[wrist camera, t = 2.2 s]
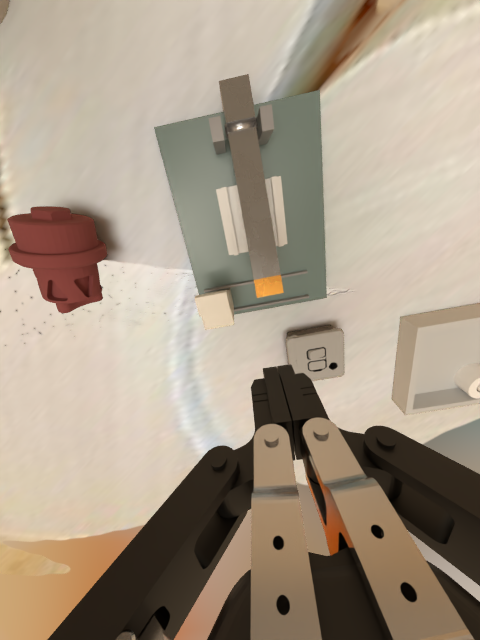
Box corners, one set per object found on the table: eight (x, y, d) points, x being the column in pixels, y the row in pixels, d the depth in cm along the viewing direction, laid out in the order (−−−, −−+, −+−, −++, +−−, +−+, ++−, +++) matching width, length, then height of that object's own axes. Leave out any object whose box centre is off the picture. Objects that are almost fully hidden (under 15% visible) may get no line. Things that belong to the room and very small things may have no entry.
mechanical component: (126, 291, 39) (95, 322, 30) (62, 286, 38) (11, 317, 30) (113, 208, 33) (69, 218, 24) (36, 201, 32) (-37, 208, 24)
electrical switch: (346, 376, 42) (296, 390, 41) (330, 360, 46) (285, 373, 45) (345, 329, 38) (290, 344, 37) (328, 317, 43) (279, 330, 42)
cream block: (202, 280, 37) (194, 298, 30) (227, 276, 37) (226, 292, 29) (209, 310, 39) (204, 333, 32) (233, 305, 39) (234, 327, 32)
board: (156, 129, 30) (135, 108, 23) (316, 93, 29) (340, 60, 22) (206, 317, 41) (201, 337, 34) (324, 295, 40) (342, 312, 33)
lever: (219, 101, 26) (216, 81, 24) (250, 94, 26) (250, 73, 24) (254, 298, 28) (255, 298, 26) (283, 292, 28) (286, 292, 26)
